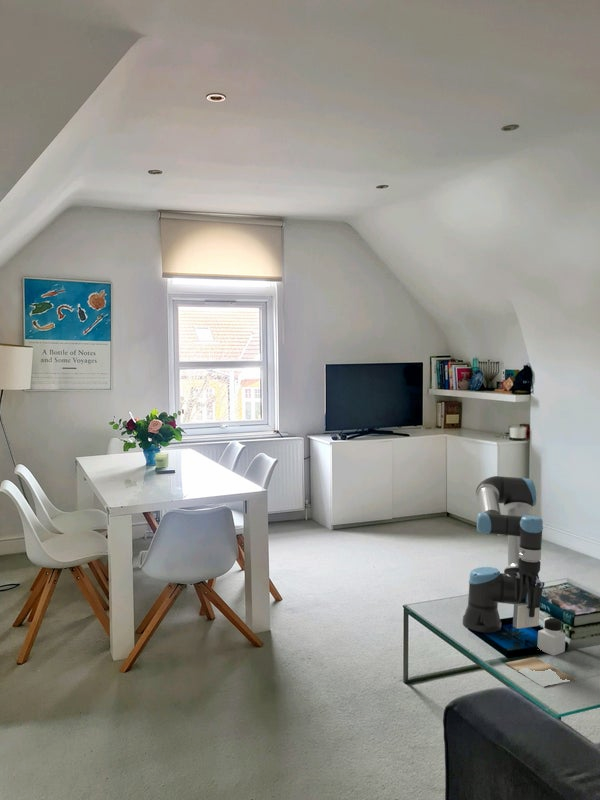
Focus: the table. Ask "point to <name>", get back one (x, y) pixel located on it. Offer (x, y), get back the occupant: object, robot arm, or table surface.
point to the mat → (536, 666)
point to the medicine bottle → (551, 637)
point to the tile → (523, 616)
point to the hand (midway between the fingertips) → (526, 623)
